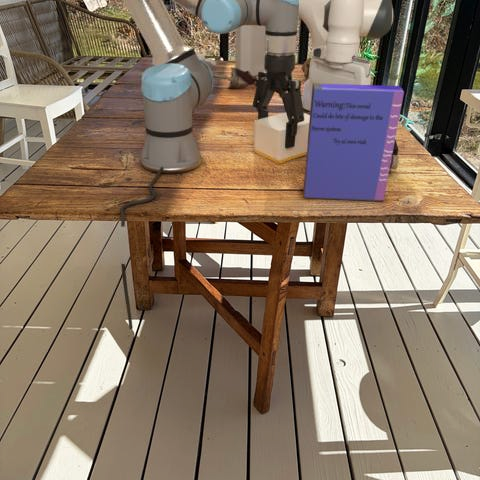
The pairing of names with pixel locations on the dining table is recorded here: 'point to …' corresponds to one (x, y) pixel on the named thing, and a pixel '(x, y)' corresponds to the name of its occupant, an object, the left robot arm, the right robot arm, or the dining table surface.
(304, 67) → the anatomical model
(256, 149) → the cabinet
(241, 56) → the white block
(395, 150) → the figurine character
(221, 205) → the dining table surface
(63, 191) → the dining table surface
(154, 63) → the toy
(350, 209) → the dining table surface
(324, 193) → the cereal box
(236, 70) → the figurine
